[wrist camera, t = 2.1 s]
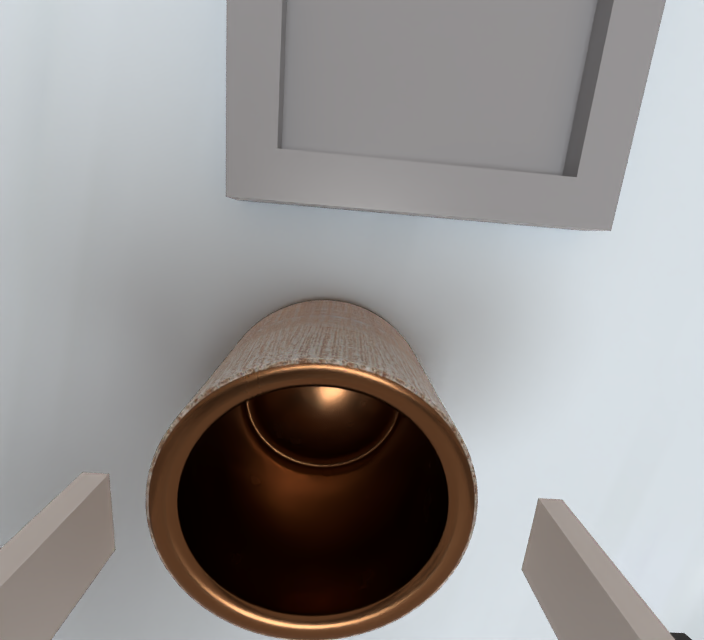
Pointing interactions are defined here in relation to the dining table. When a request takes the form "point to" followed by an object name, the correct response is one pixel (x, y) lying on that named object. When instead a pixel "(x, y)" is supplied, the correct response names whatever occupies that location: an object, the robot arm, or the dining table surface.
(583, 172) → the grey tray
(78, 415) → the dining table surface
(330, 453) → the planter
